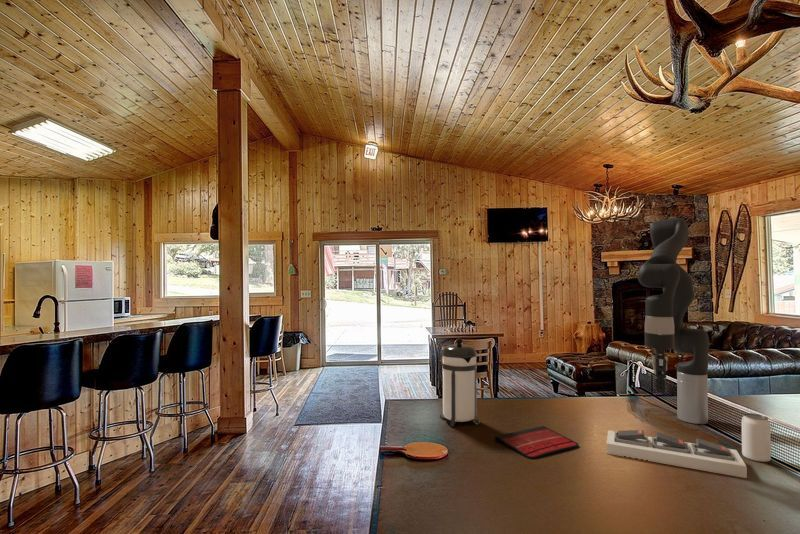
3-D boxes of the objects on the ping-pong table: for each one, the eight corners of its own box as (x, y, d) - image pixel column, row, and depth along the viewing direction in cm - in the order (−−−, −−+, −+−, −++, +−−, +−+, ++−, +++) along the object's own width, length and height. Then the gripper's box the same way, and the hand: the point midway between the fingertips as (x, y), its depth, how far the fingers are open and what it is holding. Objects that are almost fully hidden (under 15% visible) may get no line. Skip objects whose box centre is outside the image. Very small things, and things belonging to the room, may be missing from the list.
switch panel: (608, 439, 138) (608, 427, 138) (736, 460, 123) (736, 447, 123) (606, 453, 128) (606, 440, 128) (746, 478, 112) (746, 463, 112)
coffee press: (487, 418, 159) (487, 336, 159) (470, 431, 145) (470, 342, 146) (445, 410, 168) (445, 333, 169) (425, 422, 155) (425, 338, 155)
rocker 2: (655, 435, 129) (656, 431, 129) (682, 444, 126) (683, 440, 126) (656, 440, 125) (657, 436, 125) (684, 450, 122) (685, 445, 122)
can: (776, 463, 121) (775, 420, 121) (750, 461, 122) (749, 419, 122) (762, 454, 127) (761, 413, 127) (737, 452, 128) (736, 412, 129)
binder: (494, 435, 137) (542, 424, 147) (494, 442, 137) (542, 431, 147) (531, 456, 123) (582, 443, 133) (531, 464, 123) (581, 450, 133)
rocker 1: (619, 434, 133) (618, 430, 134) (644, 433, 130) (643, 429, 130) (618, 439, 129) (617, 435, 130) (644, 438, 126) (643, 434, 126)
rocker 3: (695, 441, 124) (696, 437, 124) (725, 451, 121) (726, 446, 121) (697, 447, 120) (699, 442, 120) (728, 457, 117) (729, 452, 117)
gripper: (643, 328, 135) (644, 382, 135) (645, 333, 122) (646, 394, 122) (672, 329, 131) (672, 385, 131) (676, 335, 119) (677, 397, 119)
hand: (659, 389), depth 127 cm, fingers open, 4 cm apart
